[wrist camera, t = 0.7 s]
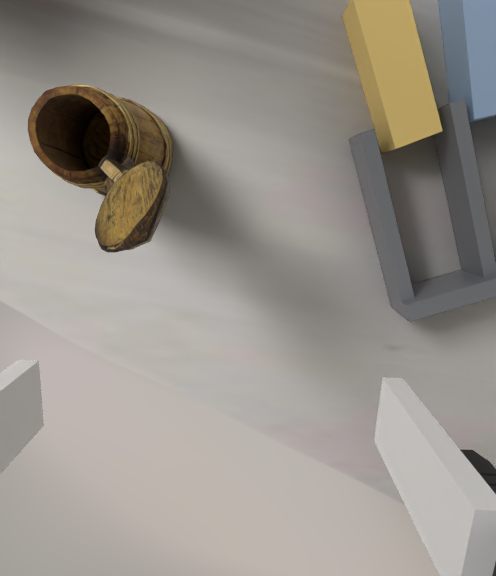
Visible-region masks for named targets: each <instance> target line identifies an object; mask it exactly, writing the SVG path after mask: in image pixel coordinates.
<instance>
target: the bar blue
mask: <svg viewBox="0 0 496 576" xmlns="http://www.w3.org/2000/svg"><path fill="white" fill-rule="evenodd" d="M438 2H439V11H440V20H441V29H442V38H443V47H444V56H445V64H446V73H447V82H448V91H449V100H450V103H452V102H455V101H458V100H461V99H464V98H465V103H466V108H467V114H468V119H469V123H471V122H475V121H479V120H483V119H487V118H492V117H496V0H438Z"/></svg>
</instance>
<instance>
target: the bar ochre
mask: <svg viewBox="0 0 496 576" xmlns="http://www.w3.org/2000/svg"><path fill="white" fill-rule="evenodd" d="M342 18H343V21H344V25H345V28H346V31H347V35H348V38H349V42H350V45H351V49H352V52H353V56H354V59H355V62H356V66H357V69H358V73H359V76H360V80H361V83H362V87H363V90H364V94H365V97H366V100H367V104H368V107H369V111H370V114H371V118H372V121H373V125H374V128H375V131H376V135H377V138H378V142H379V145H380V149H381V152H382V153H385V152H388V151H391V150H394V149H397V148H400V147H402V146H405V145H408V144H410V143H413V142H416V141H418V140H421V139H423V138H426V137H429V136H431V135H434V134H436V133H439V132H442V131H443V130H442V126H441V122H440V118H439V114H438V110H437V107H436V103H435V99H434V95H433V91H432V87H431V83H430V79H429V75H428V71H427V67H426V63H425V60H424V56H423V52H422V48H421V44H420V40H419V36H418V32H417V28H416V24H415V20H414V17H413V13H412V9H411V5H410V1H409V0H350V2H349V4H348V6H347V8H346V10H345V12H344V14H343V16H342Z"/></svg>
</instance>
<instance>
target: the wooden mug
mask: <svg viewBox="0 0 496 576" xmlns="http://www.w3.org/2000/svg"><path fill="white" fill-rule="evenodd" d="M28 132H29V137H30V141H31V144H32V146H33V149H34V152H35V153H36V155H37V156H38V157H39V159H40V160H41V161H42V162H43V163H44V164H45V165H46V166H47V167H48V168H49V169H50V170H51V171H52V172H53V173H54V174H56V175H57V176H59V177H60V178H62V179H63V180H65V181H67V182H69V183H71V184H74V185H76V186H79V187H81V188H91V189H93V190H94V191H96V192H97V193H99V194H102V195H105V196H106V197H105V199H104V201H103V203H102V205H101V207H100V210H99V213H98V216H97V219H96V224H95V234H96V238H97V240H98V243H99V245H100V247H101V249H102V250H104V251H106V252H119V251H123V250H130V249H134V248H136V247H138V246H140V245H143V244H145V243H147V242H150V241H151V239H152V236H153V234H154V232H155V230H156V228H157V226H158V224H159V221H160V219H161V216H162V214H163V211H164V208H165V206H166V203H167V201H168V197H169V192H170V187H169V182H168V179H167V177H168V174H169V171H170V168H171V162H172V157H173V150H172V140H171V138H170V135H169V133H168V131H167V128H166V126H165V124H164V123H163V122H162V121H161V120H160V119H159V118H158V117H157V116H155V115H154V114H153V113H152V112H150V111H149V110H148V109H146V108H145V107H143V106H141V105H139V104H137V103H135V102H133V101H132V100H130V99H125V98H120V97H115V96H113V95H112V94H109V93H107V92H105V91H103V90H100V89H98V88H95V87H92V86H87V85H80V84H79V85H72V86H63V87H56V88H53V89H50V90H47V91H45V92H44V93H43V95H42V96H41V97H40V98H39V99H38V100H37V102H36V103H35V105H34V106H33V108H32V109H31V113H30V116H29V119H28Z"/></svg>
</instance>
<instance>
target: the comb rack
mask: <svg viewBox="0 0 496 576" xmlns="http://www.w3.org/2000/svg"><path fill="white" fill-rule="evenodd" d="M437 110H438V114H439V118H440V122H441V126H442V130H443V131H442V132H439V133H436V134H434V140H435V144H436V149H437V154H438V159H439V164H440V168H441V173H442V178H443V183H444V188H445V192H446V197H447V202H448V207H449V211H450V216H451V221H452V226H453V231H454V235H455V240H456V245H457V250H458V254H459V259H460V264H461V270H458V271H455V272H452V273H448V274H445V275H442V276H438V277H435V278H432V279H428V280H425V281H422V282H418V283H415V284H411V280H410V276H409V272H408V268H407V263H406V259H405V255H404V251H403V247H402V242H401V238H400V234H399V230H398V226H397V221H396V217H395V213H394V209H393V205H392V200H391V196H390V192H389V188H388V184H387V179H386V175H385V171H384V167H383V163H382V159H381V154H380V150H379V146H378V142H377V138H376V133H375V129H372V130H369V131H366V132H363V133H360V134H358V135H356V136H355V137H353V138H351V139H349V142H350V146H351V150H352V154H353V158H354V162H355V166H356V170H357V174H358V178H359V182H360V185H361V189H362V193H363V197H364V201H365V205H366V209H367V213H368V217H369V221H370V225H371V229H372V233H373V237H374V241H375V245H376V249H377V253H378V257H379V261H380V265H381V269H382V272H383V276H384V280H385V284H386V288H387V292H388V296H389V300H390V304H391V307H392V308H393V309H395V310H396V311H397V312H398V313H400V314H401V315H402V316H403V317H404V318H406V319H407V320H408V321H409V322H411V321H415V320H418V319H422V318H425V317H428V316H432V315H435V314H439V313H442V312H445V311H449V310H452V309H456V308H459V307H462V306H466V305H469V304H473V303H476V302H479V301H483V300H486V299H490V298H493V297H496V259H495V256H494V251H493V246H492V240H491V235H490V230H489V224H488V219H487V214H486V209H485V203H484V198H483V193H482V188H481V182H480V177H479V172H478V166H477V161H476V156H475V151H474V145H473V140H472V135H471V130H470V124H469V119H468V114H467V108H466V103H465V98H464V99H461V100H458V101H455V102H452V103H450V104H447V105H445V106H443V107H441V108H439V109H437Z"/></svg>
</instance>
